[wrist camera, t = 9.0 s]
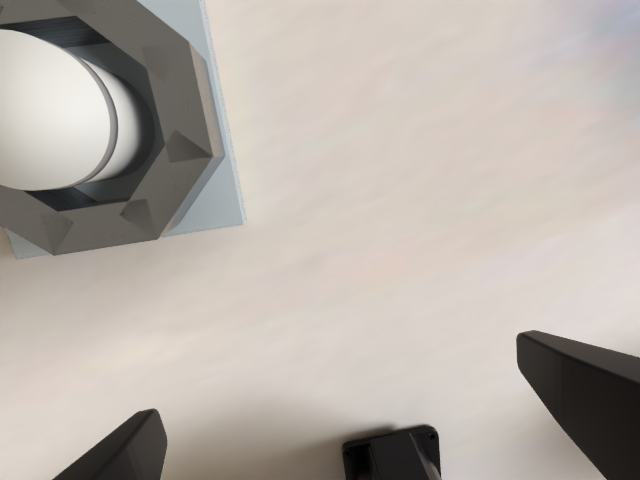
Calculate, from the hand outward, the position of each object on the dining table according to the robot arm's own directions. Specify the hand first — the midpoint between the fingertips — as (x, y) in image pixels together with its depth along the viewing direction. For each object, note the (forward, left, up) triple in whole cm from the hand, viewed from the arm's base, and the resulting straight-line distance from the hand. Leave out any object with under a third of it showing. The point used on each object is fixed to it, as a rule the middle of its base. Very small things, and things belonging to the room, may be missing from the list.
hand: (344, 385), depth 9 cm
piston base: (+8, +9, -12) cm, 17 cm away
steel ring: (+8, +8, -10) cm, 15 cm away
